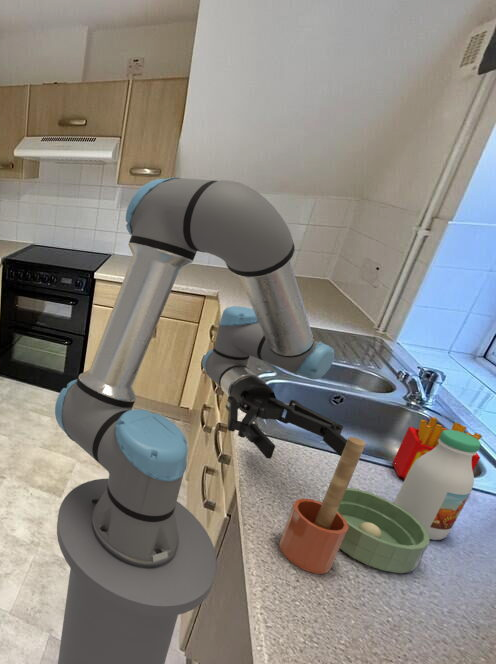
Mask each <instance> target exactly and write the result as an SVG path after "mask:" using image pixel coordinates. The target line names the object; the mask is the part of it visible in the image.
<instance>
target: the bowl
mask: <svg viewBox="0 0 496 664" xmlns="http://www.w3.org/2000/svg"><path fill="white" fill-rule="evenodd" d="M337 512H338V513H340V514H341V515H342V516H343V517H344V519H345V520H346V521H347V524H348V526H349V528H348V530H347V533H346V535H345V537H344V539H343V542H342V544H341V546H340V548H339V550H341V551H342V552H343V553H345V554H346V555H348V556H349V557H351V558H352V559H354V560H356V561H358V562H360V563H362V564H364V565H366V566H369V567H371V568H374V569H377V570H381V571H384V572H389V573H396V574H403V573H411V572H412V571H413V570H415V569H416V568H417V567H418V565H419V564H420V561H421V559H422V558H423V556H424V554H425V552H426V550H427V549H428V547H429V545H430V540H431V539H430V536H429V534H428V532H427V530H426V529H425V527H424V526H423V525H422V524H421V523H420V522H419V521H418V520H417V519H416V518H415V517H414V516H412V515H411V514H410V513H408V512H407V511H406V510H404V509H403V508H401V507H400V506H398V505H396V504H394V502H392V501H391V500H389V499H386V498H385V497H382V496H380V495H377V494H375V493H373V492H369V491H366V490H363V489H358V488H354V487H347V489H346V492H345V494H344V496H343V499H342V501H341V504H340V506H339V508H338V511H337ZM364 522H370V523H373V524H375V525H376V526H377V527H378V528H379V529H380V530H381V534H382V535H381V538H380V539H379V538H377V537H375V536H373V535H371V534H369V533H366V532H364V531H363V530H361V529H359V526H360V524H361V523H364Z"/></svg>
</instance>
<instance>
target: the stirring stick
mask: <svg viewBox="0 0 496 664" xmlns="http://www.w3.org/2000/svg"><path fill="white" fill-rule="evenodd" d="M365 447H366V442H365V441H364V440H363V439H360V438H359V437H355V436H350V437H348V438H347V443H346V445H345V448H344V450H343V453H342V455H341V456H340V458H339V460H338V463H337V466H336V468H335V470H334V473H333V475H332V477H331V480H330V483H329V485H328V488H327V490H326V493H325V495H324V498H323V499H322V502H321V503H322V505H321V507H320V510H319V512H318V515H317V517H316V520H315V522H314V524H315V525H317V526H319V527H322V528H325V529H328V530H329V529H330V527H331V525H332V522H333V520H334V518H335V515H336V513H337V511H338V508H339V506H340V504H341V501H342V499H343V496H344V494H345V492H346V489H347V488H349V485H350V482H351V480H352V478H353V475H354V473H355V471H356V468H357V466H358V463H359V461H360V459H361V456H362V454H363V452H364V449H365Z"/></svg>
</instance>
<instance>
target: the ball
mask: <svg viewBox="0 0 496 664" xmlns="http://www.w3.org/2000/svg"><path fill="white" fill-rule="evenodd" d="M359 529H361V530H363V531H364V532H366V533H369V534H371V535H373V536H375V537H377V538H379V539H380V538H381V535H382V534H381V530H380V529H379V528H378V527H377V526H376V525H375V524H373V523H370V522H364V523H361V524H360V526H359Z"/></svg>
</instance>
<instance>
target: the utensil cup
mask: <svg viewBox="0 0 496 664" xmlns="http://www.w3.org/2000/svg"><path fill="white" fill-rule="evenodd" d="M292 504H293V505H292V507H291V510H290V513H289V515H288V518H287V520H286V523H285V526H284V528H283V531H282V534H281V537H280V540H279V549H280V551H281V552H282V554H283V556H284V557H285V558H286V559H287V560H288V561H290V562H291V563H292V564H293V565H295V566H296V567H298V568H300V569H301V570H303V571H306V572H308V573H312V574H317V575H323V574H327V573H328V572H329V571H331V568H332V567H333V564H334V562H335V560H336V557H337V555H338V553H339V550H340V549H339V548H340V546H341V544H342V542H343V539H344V537H345V535H346V533H347V530H348V528H349V526H348V524H347V521H346V520H345V519H344V517H343V516H342V515H341V514H340V513H338V512H337V513H336V515H335V518H334V520H333V522H332V525H331V527H330V529H329V530H328V529H325V528H322V527H319V526H317V525H315V524H314V522H315V520H316V517H317V515H318V512H319V510H320V507H321V505H322V502H321V501H318V500H315V499H311V498H298V499H297V500H295V501H294V503H292Z"/></svg>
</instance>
